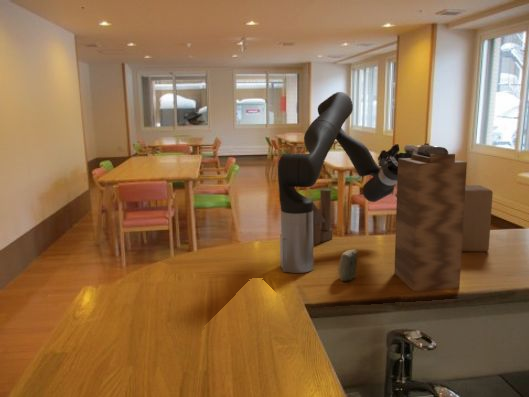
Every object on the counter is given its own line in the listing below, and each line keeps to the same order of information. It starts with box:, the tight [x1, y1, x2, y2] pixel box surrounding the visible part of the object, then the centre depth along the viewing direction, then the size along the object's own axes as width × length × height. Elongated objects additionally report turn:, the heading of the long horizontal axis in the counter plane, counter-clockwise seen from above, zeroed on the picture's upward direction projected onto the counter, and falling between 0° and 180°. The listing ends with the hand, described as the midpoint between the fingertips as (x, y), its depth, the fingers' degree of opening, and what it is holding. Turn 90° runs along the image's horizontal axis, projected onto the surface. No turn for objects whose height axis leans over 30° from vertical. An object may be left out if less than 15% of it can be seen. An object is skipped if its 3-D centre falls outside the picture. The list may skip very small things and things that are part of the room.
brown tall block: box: [394, 153, 468, 292], centre depth 117 cm, size 12×13×34 cm
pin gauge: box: [403, 143, 449, 157], centre depth 119 cm, size 4×21×4 cm, turn 4°
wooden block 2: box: [462, 185, 493, 253], centre depth 146 cm, size 10×10×20 cm
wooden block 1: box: [313, 188, 333, 246], centre depth 158 cm, size 4×11×18 cm, turn 137°
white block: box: [337, 248, 359, 284], centre depth 122 cm, size 6×5×8 cm
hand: (412, 146), depth 125 cm, fingers open, 8 cm apart
